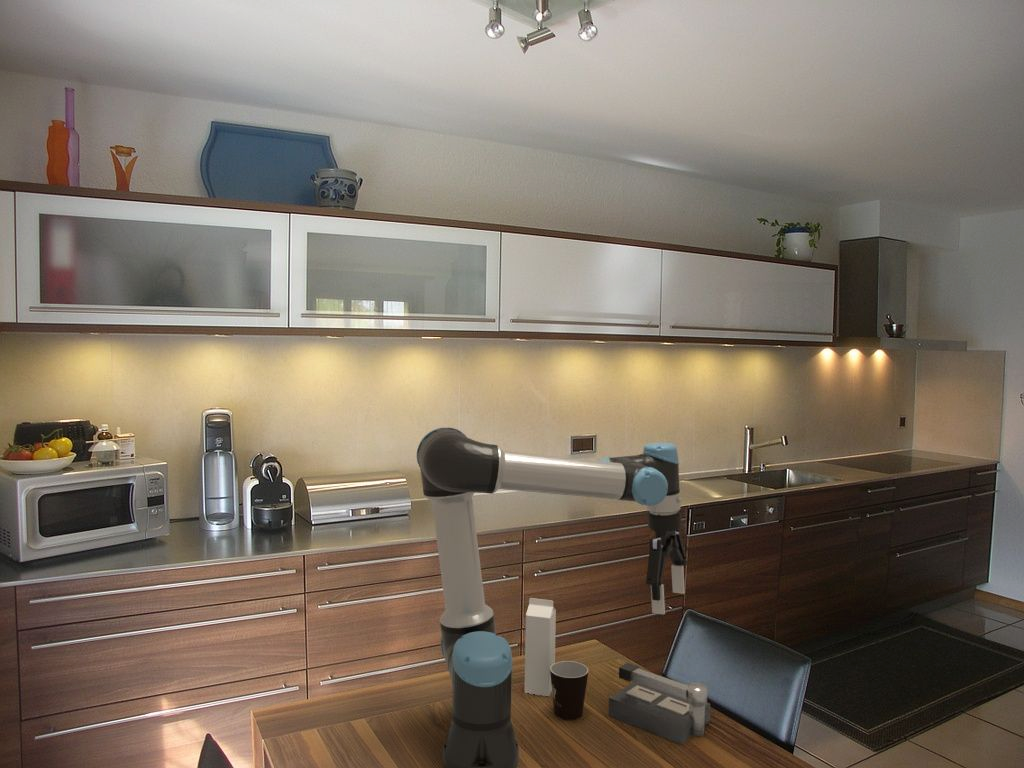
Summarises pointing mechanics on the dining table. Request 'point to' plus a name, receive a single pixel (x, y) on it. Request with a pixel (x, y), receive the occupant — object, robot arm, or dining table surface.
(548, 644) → the milk
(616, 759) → the dining table surface
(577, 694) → the coffee mug
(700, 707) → the grey slotted block
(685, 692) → the lever
